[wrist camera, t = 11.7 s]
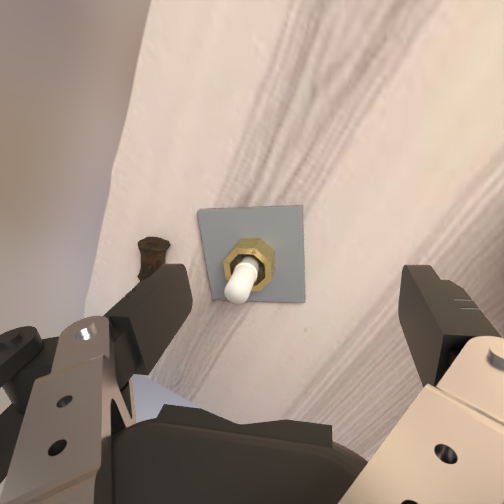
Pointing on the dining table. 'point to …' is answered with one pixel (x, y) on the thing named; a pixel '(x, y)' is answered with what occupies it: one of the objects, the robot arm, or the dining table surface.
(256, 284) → the ring
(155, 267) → the hand tool
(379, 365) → the dining table surface
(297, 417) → the dining table surface
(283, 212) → the post base
